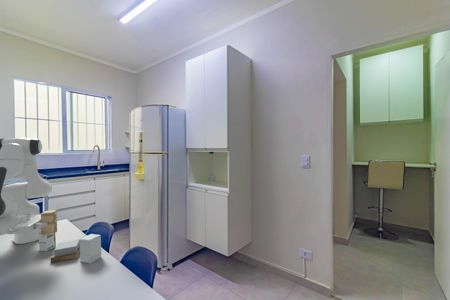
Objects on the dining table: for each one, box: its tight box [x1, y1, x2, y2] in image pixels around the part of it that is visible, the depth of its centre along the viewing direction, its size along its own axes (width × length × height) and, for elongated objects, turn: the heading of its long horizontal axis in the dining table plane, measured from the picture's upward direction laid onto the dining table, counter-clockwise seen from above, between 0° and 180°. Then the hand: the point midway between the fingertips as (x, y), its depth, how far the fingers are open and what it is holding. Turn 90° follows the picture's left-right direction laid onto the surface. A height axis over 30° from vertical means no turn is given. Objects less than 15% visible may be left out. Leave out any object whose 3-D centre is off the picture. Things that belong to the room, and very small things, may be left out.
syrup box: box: [38, 227, 57, 252], centre depth 131 cm, size 6×6×14 cm
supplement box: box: [79, 233, 102, 264], centre depth 117 cm, size 7×7×13 cm
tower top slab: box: [53, 238, 80, 257], centre depth 122 cm, size 10×10×4 cm
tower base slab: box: [49, 246, 80, 264], centre depth 121 cm, size 12×12×4 cm
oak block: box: [40, 209, 58, 236], centre depth 115 cm, size 5×5×12 cm
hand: (51, 221), depth 116 cm, fingers closed on oak block, 5 cm apart
